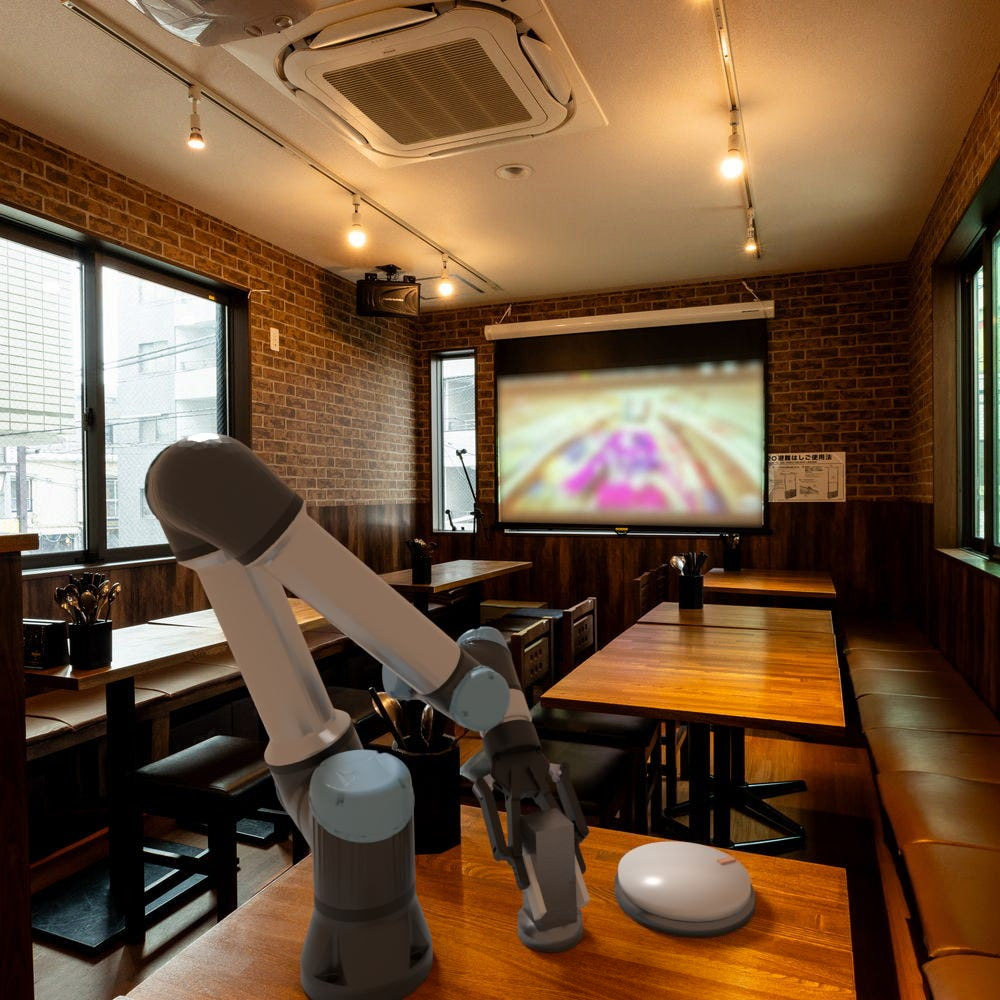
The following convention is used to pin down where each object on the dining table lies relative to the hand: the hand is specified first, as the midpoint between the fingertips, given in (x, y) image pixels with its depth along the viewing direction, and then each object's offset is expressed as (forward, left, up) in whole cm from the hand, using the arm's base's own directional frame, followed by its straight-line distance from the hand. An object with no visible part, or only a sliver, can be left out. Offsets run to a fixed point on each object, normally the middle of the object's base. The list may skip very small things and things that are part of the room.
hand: (562, 909), depth 88 cm
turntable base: (+19, +4, -5) cm, 20 cm away
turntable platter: (+19, +4, -3) cm, 20 cm away
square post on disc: (0, +4, -5) cm, 6 cm away
